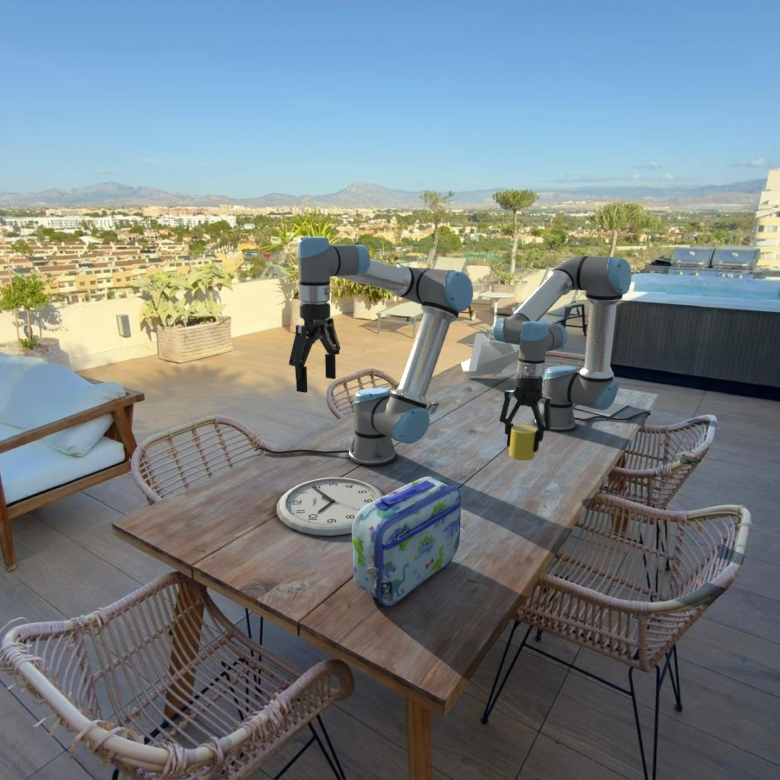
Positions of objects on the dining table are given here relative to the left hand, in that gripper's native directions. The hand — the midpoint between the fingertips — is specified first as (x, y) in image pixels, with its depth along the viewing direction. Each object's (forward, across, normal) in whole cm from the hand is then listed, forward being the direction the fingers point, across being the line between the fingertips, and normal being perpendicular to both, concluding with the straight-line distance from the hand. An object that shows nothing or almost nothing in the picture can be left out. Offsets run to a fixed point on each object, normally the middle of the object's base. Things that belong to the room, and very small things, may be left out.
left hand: (316, 384), depth 135 cm
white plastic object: (+34, +137, -17) cm, 142 cm away
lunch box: (+34, -20, -35) cm, 52 cm away
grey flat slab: (+34, +124, -65) cm, 144 cm away
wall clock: (+34, 0, -4) cm, 34 cm away
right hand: (+24, +41, -47) cm, 67 cm away
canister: (+27, +41, -47) cm, 67 cm away
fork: (+34, +89, +1) cm, 96 cm away
